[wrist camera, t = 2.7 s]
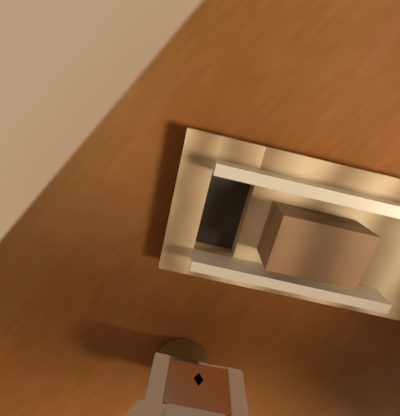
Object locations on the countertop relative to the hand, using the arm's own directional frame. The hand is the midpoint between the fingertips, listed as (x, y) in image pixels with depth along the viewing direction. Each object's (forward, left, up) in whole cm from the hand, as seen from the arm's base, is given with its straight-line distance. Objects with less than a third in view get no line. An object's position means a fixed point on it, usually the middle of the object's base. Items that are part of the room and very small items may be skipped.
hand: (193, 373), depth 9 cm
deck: (-14, 0, -19) cm, 24 cm away
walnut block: (-10, 0, -17) cm, 20 cm away
